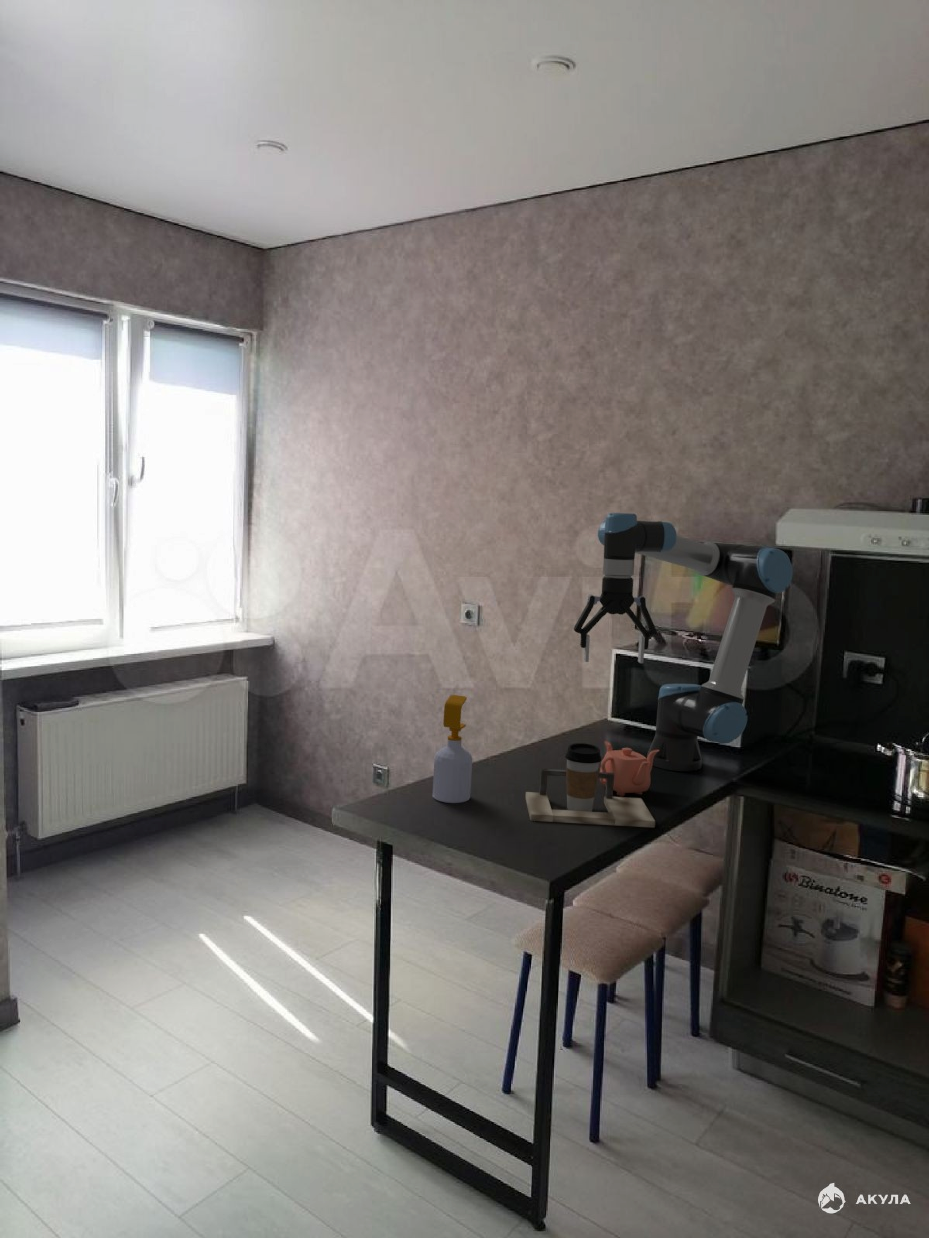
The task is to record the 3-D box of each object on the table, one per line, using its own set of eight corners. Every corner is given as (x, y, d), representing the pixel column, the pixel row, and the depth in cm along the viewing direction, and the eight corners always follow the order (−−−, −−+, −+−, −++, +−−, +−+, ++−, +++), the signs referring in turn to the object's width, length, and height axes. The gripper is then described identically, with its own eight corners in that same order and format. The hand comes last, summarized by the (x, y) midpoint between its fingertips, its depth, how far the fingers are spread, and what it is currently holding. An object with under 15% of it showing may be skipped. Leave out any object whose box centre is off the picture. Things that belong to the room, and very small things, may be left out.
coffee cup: (596, 805, 218) (601, 744, 216) (598, 816, 210) (602, 753, 208) (561, 802, 219) (565, 741, 217) (561, 813, 210) (566, 750, 209)
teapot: (601, 778, 240) (605, 738, 239) (656, 787, 235) (659, 746, 234) (589, 793, 227) (592, 750, 226) (646, 803, 222) (650, 759, 221)
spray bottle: (474, 795, 220) (481, 695, 217) (462, 806, 212) (468, 702, 208) (440, 789, 223) (445, 691, 220) (426, 800, 214) (432, 697, 211)
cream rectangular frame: (640, 804, 221) (643, 774, 220) (654, 827, 205) (657, 795, 204) (525, 797, 220) (527, 767, 219) (530, 820, 205) (532, 788, 204)
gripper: (664, 576, 227) (659, 659, 230) (565, 573, 226) (561, 657, 229) (672, 579, 220) (667, 665, 223) (569, 576, 219) (565, 663, 222)
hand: (613, 661), depth 226 cm, fingers open, 13 cm apart
